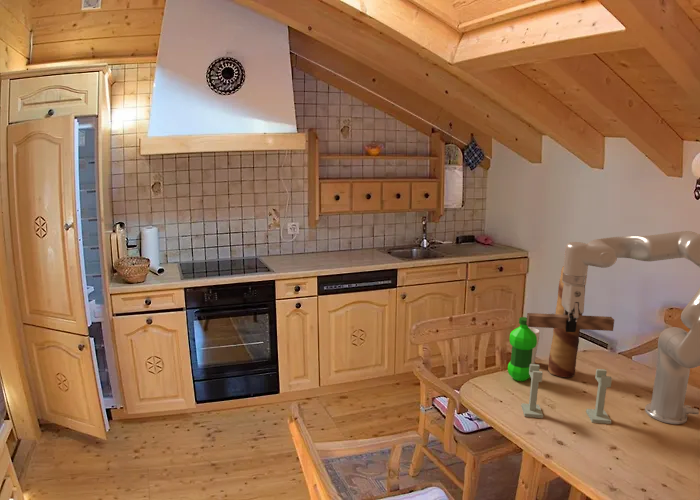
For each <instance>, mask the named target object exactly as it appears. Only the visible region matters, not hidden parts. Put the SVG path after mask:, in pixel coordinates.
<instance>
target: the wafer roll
mask: <svg viewBox="0 0 700 500" xmlns="http://www.w3.org/2000/svg"><path fill="white" fill-rule="evenodd" d="M563 268H564V265H562V267H561V271H560V278H559V282H558V290H557V300H556V307H555V313H554V314H561V315H563V314H564V307H563V306H562V292H563V286H564V283H563V282H562V277H563ZM584 287H585V288H586V285H584ZM573 312H574V311H573ZM578 314H579V315H583V314H580V313H579V312H578ZM552 329H553V331H552V333H553V334H552V340H551V344H550V350H549V357H548V367H547V370H548V372H549V373H550V374H551V375H552V376H556V377H561V378H573V377H574V376H575V373H576V366H577V357H578V356H577V355H578V351H579V344H580V332H581V329H576V332H566V331H565V330H566V329H563V328H552Z"/></svg>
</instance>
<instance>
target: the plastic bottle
mask: <svg viewBox="0 0 700 500" xmlns="http://www.w3.org/2000/svg"><path fill="white" fill-rule="evenodd" d="M526 323H527V316H521V317H519V318H518V324H519V326H518V327H516V328H514V329H513V330H511V331H510V334H509V344H510V345H511V356H510V361H509V362H508V364H507V373H508V375H509V376H511V378H512V379H513V380H514V381H517V382H525V381H527V380H528V379H531V376H530V374H529V368H530V364H531V360H532V350H533V348H534V347H536V344H537V337H536V334H535V333H534V332H533V331H532V330H531V329H530V328H528V326H527V324H526Z"/></svg>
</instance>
